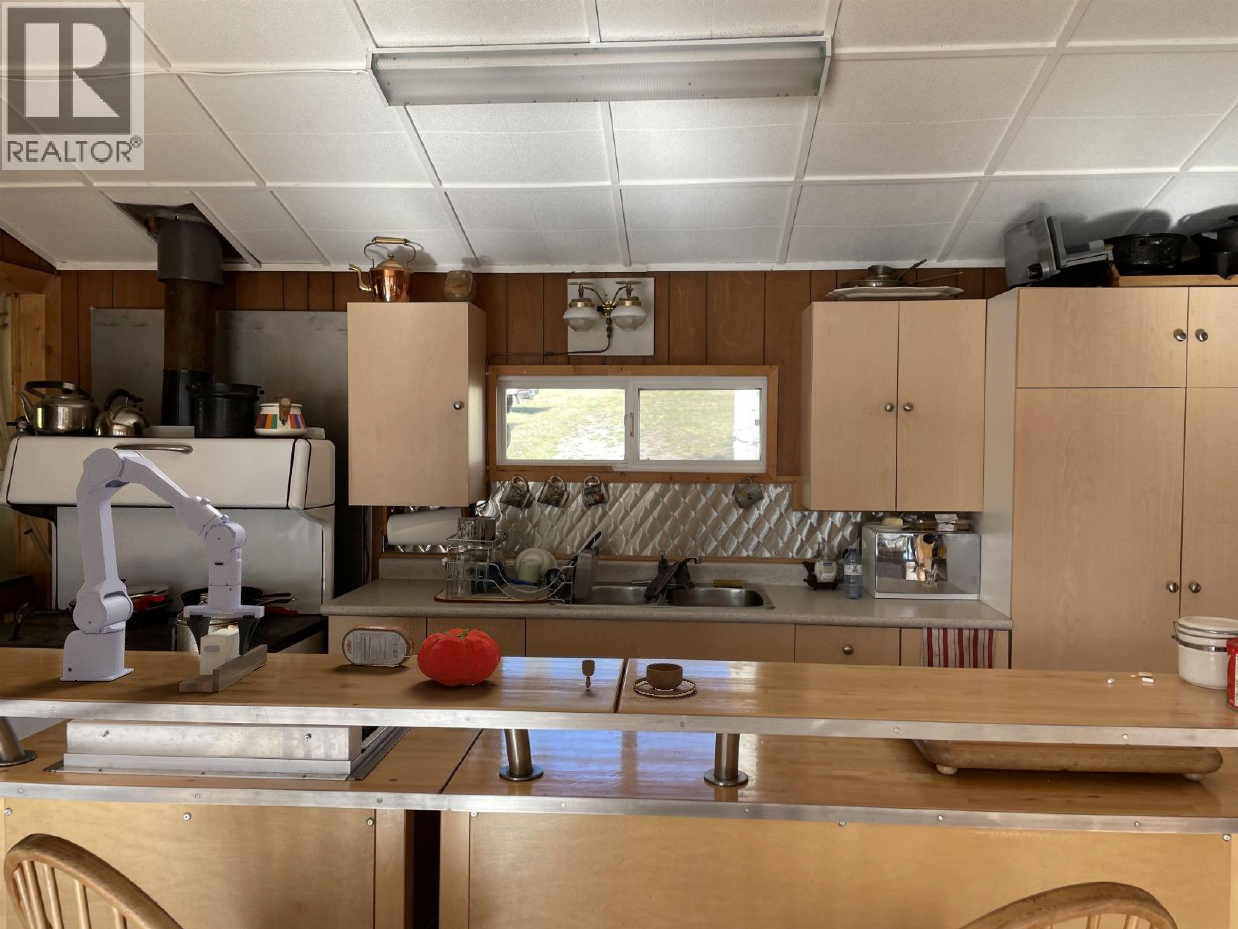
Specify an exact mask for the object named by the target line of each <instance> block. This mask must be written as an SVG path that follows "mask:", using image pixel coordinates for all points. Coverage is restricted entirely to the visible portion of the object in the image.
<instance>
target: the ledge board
mask: <svg viewBox="0 0 1238 929" xmlns="http://www.w3.org/2000/svg"><path fill="white" fill-rule="evenodd" d="M266 662H268V644H260V645H258V646H256V647H254V648H252V649H250V650H249V651H248V650H247V653H246V654H244V655H240V656H238V657H237V658H235V659H233V660H231V661H229V662H227V663H225V664H223V665H221V666H219V667H217V668H215V669H213V675H200V672H199V673H198V674H196V675H193V676H192V677H190V678H187V679H185V680H184V681H182V682H180V683H179V690H178V691H179V693H180V692H181V693H192V692H193V693H219V692H221V691H223V690H225V689H226V688H228V687H230V686H231V685H233V684H235V683H237V682H239V681H240V680H242V679H244V678H245V677H247V676H248V675H247V674H249V673H250V672H251V671H254V670H255V669H257V668H258V667H260V666H261V665H263V664H265V663H266ZM257 670H258V669H257ZM254 672H255V671H254ZM250 674H251V673H250ZM250 674H249V675H250ZM246 675H247V676H246Z"/></svg>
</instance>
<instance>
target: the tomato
mask: <svg viewBox="0 0 1238 929" xmlns="http://www.w3.org/2000/svg"><path fill="white" fill-rule="evenodd" d="M469 630H470V631H469ZM497 643H498V642H497V641H495V640H494V639H493V638H491V637H490V636H489V635H488V633H486V632H484V631H480V630H478V629H476V628H475V629H472V628H466V629H465V628H457V627H455V628H452V629H449V630H447V631H444V632H442V633H441V632H436V633H433V634H430V635H429V636H427V638H425V639H424V641H423V642H422V643H421V645H420V647H419V648H418V651H417V652H418V653H417V657H416V661H417V666H418V668H419V670H420V672H421V673H422V674H423V675H424V676H425V677H428V678H429V679H431V680H433V681H435V682H438V683H439V684H442V685H443V686H445V685H446V686H445V687H448V686H451V687H458V686H461V684H462V686H464V685H472V684H475V685H477V684H479V683H481V682H483V681H485V680H487V679H488V678H490V677H491V676H492V675H493V674H494V672H495V670H496V669H497V668H498V666H499V664H500V663H501V659H502V652H501V648H500V646H499V645H498V644H497ZM472 686H473V685H472Z"/></svg>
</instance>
